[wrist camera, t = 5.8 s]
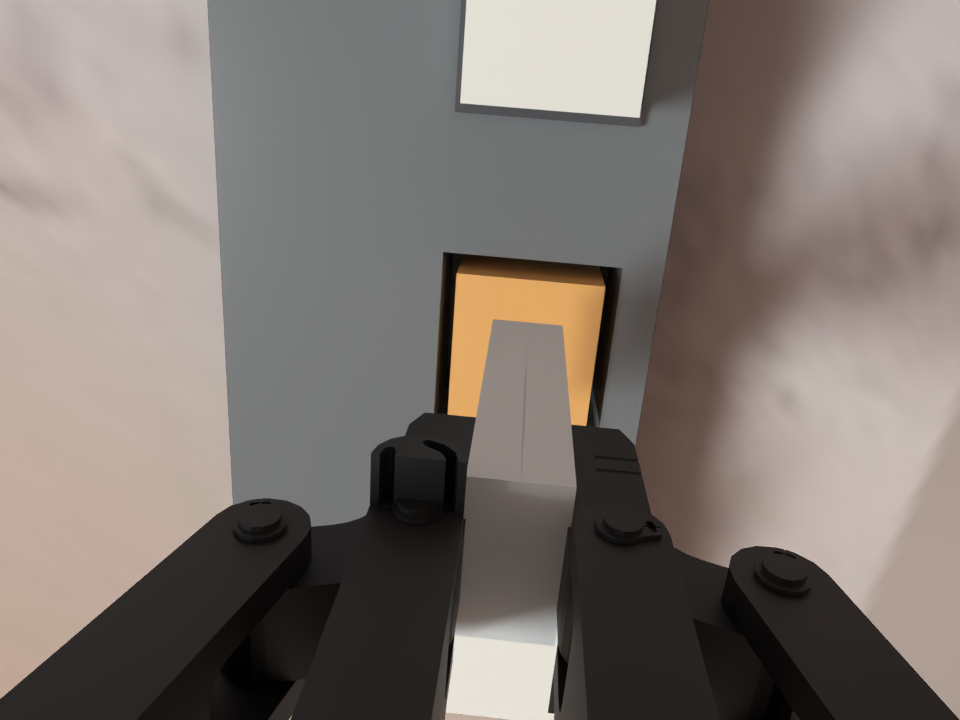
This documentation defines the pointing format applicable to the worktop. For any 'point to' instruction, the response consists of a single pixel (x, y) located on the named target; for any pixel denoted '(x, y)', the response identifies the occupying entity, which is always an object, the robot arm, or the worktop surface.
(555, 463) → the robot arm
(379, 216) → the grey button panel
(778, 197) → the worktop surface
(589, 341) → the button orange
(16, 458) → the worktop surface
